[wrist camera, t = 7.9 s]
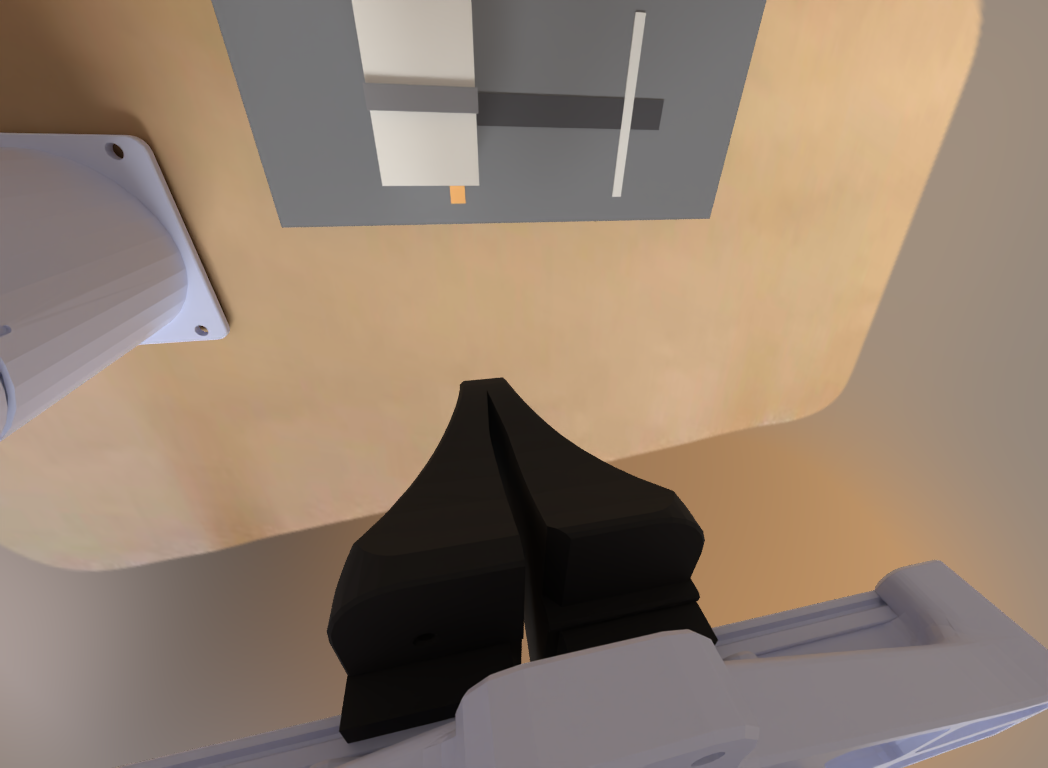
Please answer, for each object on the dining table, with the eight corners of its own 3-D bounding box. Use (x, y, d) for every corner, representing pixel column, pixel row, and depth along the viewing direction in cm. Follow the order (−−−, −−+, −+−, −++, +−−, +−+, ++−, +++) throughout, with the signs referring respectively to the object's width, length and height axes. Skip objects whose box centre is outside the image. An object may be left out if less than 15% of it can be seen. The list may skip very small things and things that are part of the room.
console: (293, 220, 16) (281, 228, 15) (213, -52, 12) (186, -76, 11) (692, 213, 20) (710, 218, 18) (742, -2, 15) (771, -15, 14)
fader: (390, 176, 15) (380, 186, 12) (367, 21, 12) (345, -18, 9) (471, 176, 15) (481, 186, 12) (463, 28, 13) (473, -7, 10)
